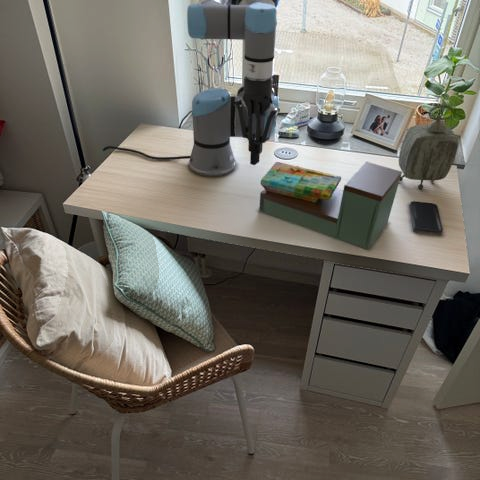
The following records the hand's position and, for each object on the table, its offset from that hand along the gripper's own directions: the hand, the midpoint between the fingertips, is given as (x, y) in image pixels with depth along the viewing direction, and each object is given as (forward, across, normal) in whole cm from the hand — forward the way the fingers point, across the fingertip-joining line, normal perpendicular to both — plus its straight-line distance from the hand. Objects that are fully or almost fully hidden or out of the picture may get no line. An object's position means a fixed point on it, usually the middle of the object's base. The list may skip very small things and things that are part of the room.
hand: (254, 162), depth 137 cm
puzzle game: (+4, +15, 0) cm, 16 cm away
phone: (+10, +49, +16) cm, 52 cm away
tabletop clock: (+10, +41, +34) cm, 54 cm away
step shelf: (+10, +23, 0) cm, 26 cm away
